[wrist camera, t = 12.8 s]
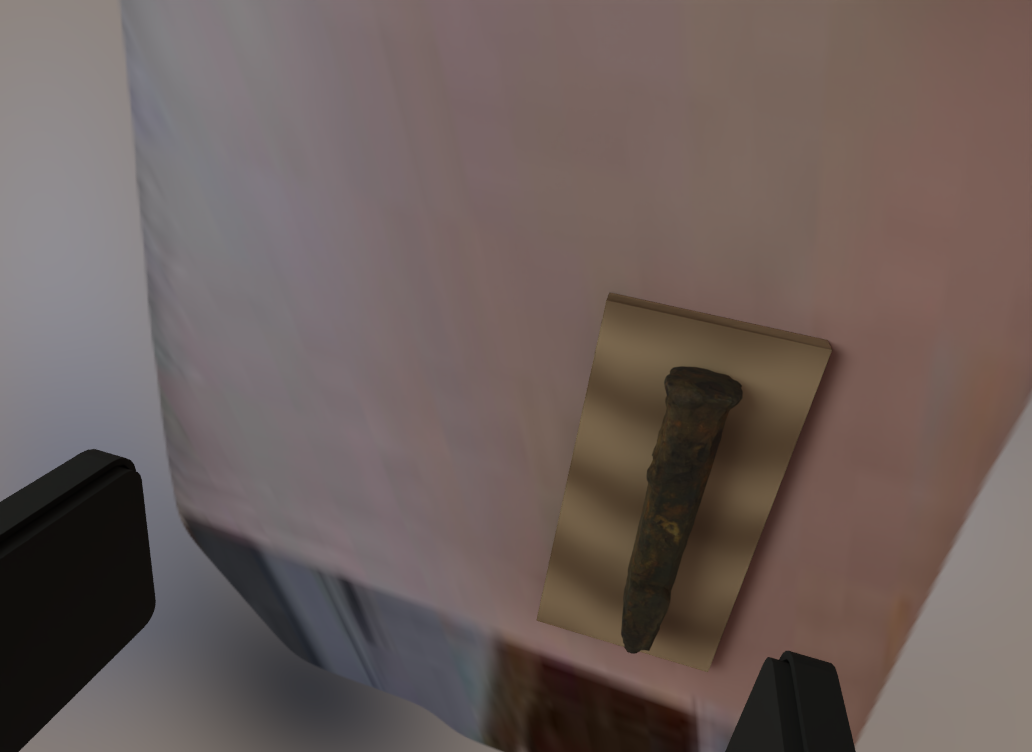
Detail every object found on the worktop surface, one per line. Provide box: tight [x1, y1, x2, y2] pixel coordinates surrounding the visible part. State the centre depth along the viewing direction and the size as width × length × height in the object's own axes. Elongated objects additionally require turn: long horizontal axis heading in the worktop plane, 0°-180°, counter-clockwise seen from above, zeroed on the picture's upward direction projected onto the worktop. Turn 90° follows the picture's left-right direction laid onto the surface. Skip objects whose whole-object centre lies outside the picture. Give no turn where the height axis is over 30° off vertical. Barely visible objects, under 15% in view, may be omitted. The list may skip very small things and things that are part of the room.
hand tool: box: [621, 366, 743, 653], centre depth 39 cm, size 19×4×5 cm, turn 169°
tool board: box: [537, 293, 832, 672], centre depth 42 cm, size 24×12×2 cm, turn 171°
